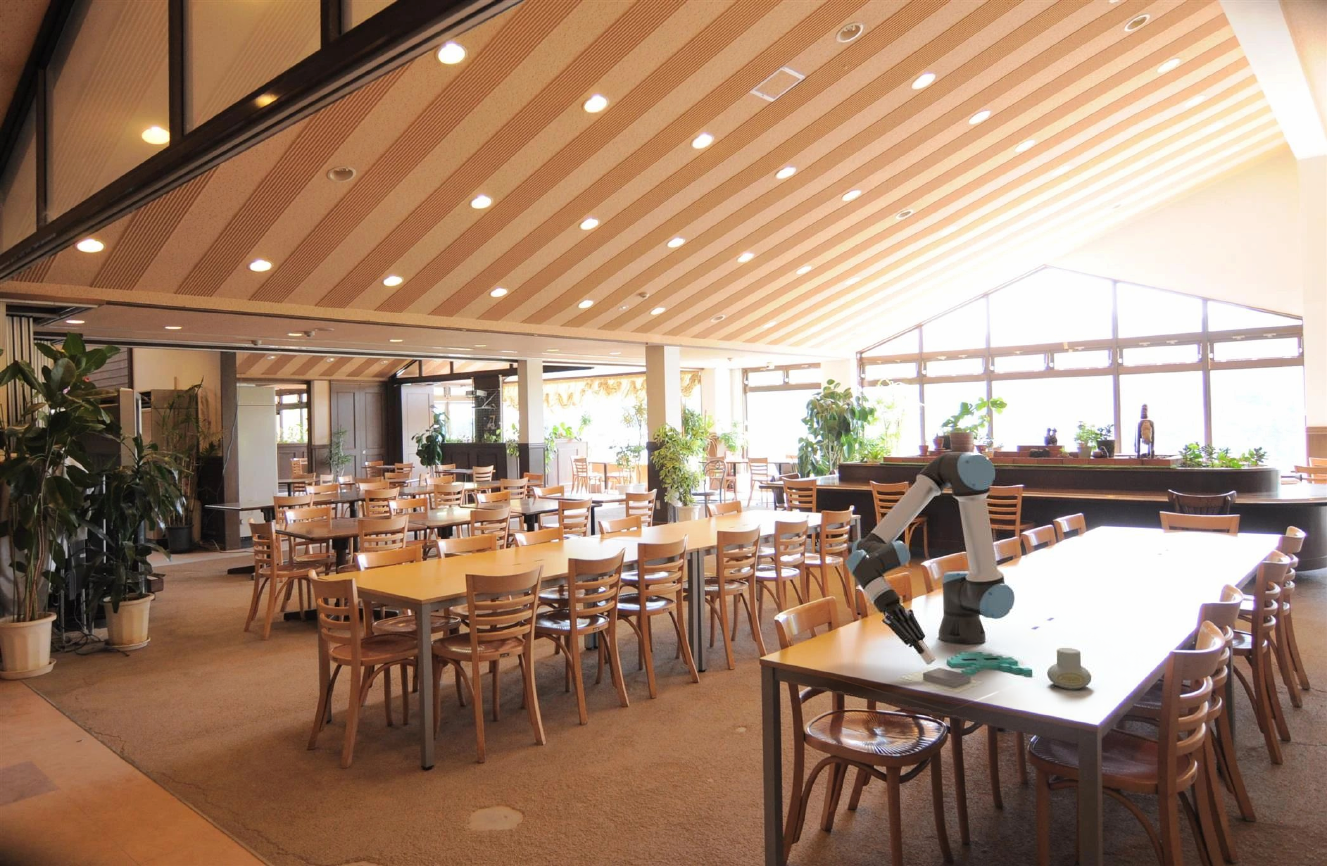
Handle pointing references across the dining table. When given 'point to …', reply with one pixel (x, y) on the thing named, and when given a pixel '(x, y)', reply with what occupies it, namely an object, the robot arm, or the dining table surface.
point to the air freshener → (1069, 670)
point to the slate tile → (946, 677)
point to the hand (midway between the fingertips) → (931, 661)
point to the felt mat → (919, 678)
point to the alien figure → (986, 663)
